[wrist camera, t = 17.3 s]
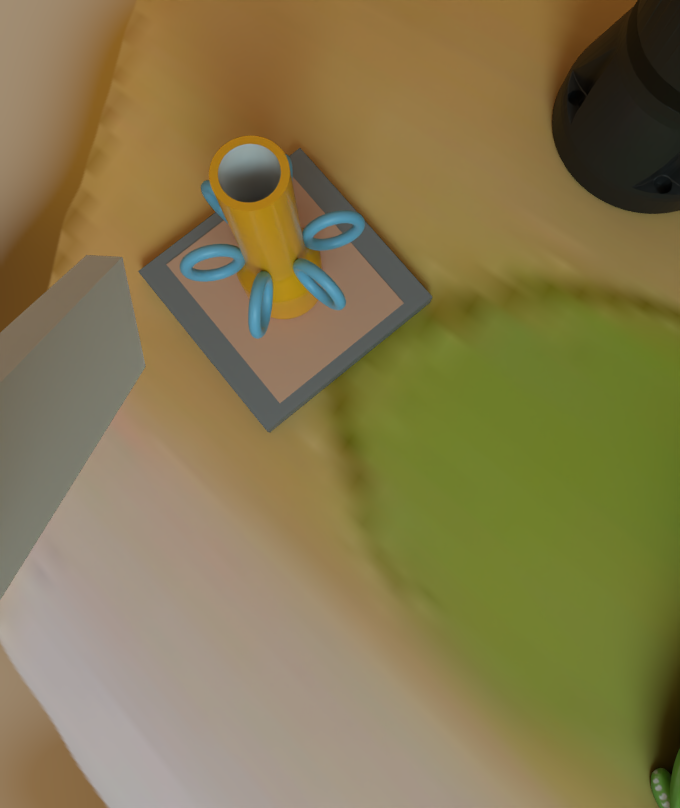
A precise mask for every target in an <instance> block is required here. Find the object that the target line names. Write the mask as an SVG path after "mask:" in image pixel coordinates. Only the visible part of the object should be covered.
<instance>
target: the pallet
mask: <svg viewBox="0 0 680 808" xmlns="http://www.w3.org/2000/svg"><path fill="white" fill-rule="evenodd" d="M289 157H290V159H291V162H292V169H293V188H294V193H295V198H296V203H297V209H298V214H299V219H300V224H301V227H302V228H305V226H306V225H307V224H308V223H310V222H311V221H312V220H314V219H315V218H317V217H319V216H321V215H324V214H326V213H330V212H333V211H339V210H350V211H355V212H357V211H356V210H355V209H354V208H353V207H352V206H351V205H350V204H349V202H348V201H347V200H346V199H345V198H344V197H343V196H342V195H341V193H340V192H339V191H338V190H337V189H336V188H335V187H334V186H333V184H332V183H331V182H330V181H329V180H328V179H327V178H326V177H325V175H324V174H323V173H322V172H321V171H320V170H319V169H318V168H317V166H316V165H315V164H314V163H313V162H312V161H311V160H310V159H309V157H308V156H307V155H306V154H305V153H304V152H303V151H302V150H301V148H299V149H298V150H296V151H295V152H294V153H293V154H291V155H290V156H289ZM352 226H353V224H349V223H341V224H336V225H332V226H329V227H326V228H324V229H322V230H321V231H319V232H318V233H316V234H315V235H314V238H317V239H325V238H331V237H335V236H338V235H340V234H342V233H344V232H346V231H347V230H349V229H350V228H351V227H352ZM212 244H230V245H234V246H237V247H239V246H238V244H237V242H236V240H235V237H234V235H233V233H232V231H231V229H230V227H229V225H228V224H227V223H226V222H225V221H224V220H223V219H222V218H221V217H220V216H219V215H218V214H217V213H216V212H215V213H214V214H213V215H211V216H210V217H209V218H207V219H206V220H205V221H204V222H202V223H201V224H200V225H198V226H197V227H196V228H194V229H193V230H192V231H190V232H189V233H188V234H187V235H185V236H184V237H183V238H181V239H180V240H179V241H177V242H176V243H175V244H173V245H172V246H171V247H170V248H168V249H167V250H166V251H164V252H163V253H162V254H160V255H159V256H158V257H156V258H155V259H154V260H153V261H151V262H150V263H149V264H147V265H146V266H145V267H143V268H142V269H141V270H139V271H138V272H139V273H140V274H141V275H142V277H143V278H144V279H145V280H146V282H147V283H148V284H149V285H150V287H151V288H152V289H153V290H154V291H155V293H156V294H157V295H158V296H159V298H160V299H161V300H162V301H163V303H164V304H165V305H166V306H167V308H168V309H169V310H170V311H171V313H172V314H173V315H174V316H175V318H176V319H177V320H178V321H179V322H180V324H181V325H182V326H183V327H184V329H185V330H186V331H187V332H188V334H189V335H190V336H191V337H192V339H193V340H194V341H195V342H196V344H197V345H198V346H199V347H200V349H201V350H202V351H203V352H204V353H205V355H206V356H207V357H208V358H209V360H210V361H211V362H212V363H213V365H214V366H215V367H216V368H217V370H218V371H219V372H220V373H221V375H222V376H223V377H224V378H225V380H226V381H227V382H228V383H229V384H230V386H231V387H232V388H233V389H234V391H235V392H236V393H237V394H238V396H239V397H240V398H241V399H242V401H243V402H244V403H245V404H246V406H247V407H248V408H249V409H250V411H251V412H252V413H253V414H254V415H255V417H256V418H257V419H258V420H259V422H260V423H261V424H262V425H263V427H264V428H265V429H266V430H267V431H268V432H269V433H270V432H271V431H272V430H273V429H275V428H276V427H277V426H278V425H280V424H281V423H282V422H283V421H284V420H286V419H287V418H288V417H289V416H291V415H292V414H293V413H294V412H296V411H297V410H298V409H299V408H300V407H302V406H303V405H304V404H305V403H307V402H308V401H309V400H310V399H312V398H313V397H314V396H315V395H316V394H318V393H319V392H320V391H321V390H323V389H324V388H325V387H326V386H328V385H329V384H330V383H331V382H332V381H334V380H335V379H336V378H337V377H339V376H340V375H341V374H342V373H344V372H345V371H346V370H347V369H348V368H350V367H351V366H352V365H353V364H355V363H356V362H357V361H358V360H360V359H361V358H362V357H363V356H364V355H366V354H367V353H368V352H369V351H371V350H372V349H373V348H374V347H376V346H377V345H378V344H379V343H380V342H382V341H383V340H384V339H385V338H387V337H388V336H389V335H390V334H392V333H393V332H394V331H395V330H397V329H398V328H399V327H400V326H401V325H403V324H404V323H405V322H406V321H408V320H409V319H410V318H411V317H413V316H414V315H415V314H416V313H417V312H419V311H420V310H421V309H422V308H424V307H425V306H426V305H427V304H429V303H430V301H431V299H432V296H431V295H430V294H429V292H428V291H427V290H426V289H425V288H424V287H423V286H422V285H421V283H420V282H419V281H418V280H417V279H416V278H415V277H414V276H413V274H412V273H411V272H410V271H409V270H408V269H407V268H406V267H405V265H404V264H403V263H402V262H401V261H400V260H399V259H398V258H397V256H396V255H395V254H394V253H393V252H392V251H391V250H390V249H389V247H388V246H387V245H386V244H385V243H384V242H383V241H382V240H381V238H380V237H379V236H378V235H377V234H376V233H375V232H374V231H373V229H372V228H371V227H370V226H369V225H368V224H367V223H366V222H365V228H364V230H363V232H362V233H361V235H360V236H359V237H358V238H356V239H355V240H354V241H352V242H350V243H348V244H346V245H344V246H342V247H339V248H336V249H331V250H324V251H320V254H321V260H322V268H323V271H324V272H325V273H326V274H327V275H329V276H330V277H331V278H332V280H333V281H334V282H335V283H336V284H337V285H338V287H339V288H340V289H341V291H342V292H343V294H344V296H345V299H346V305H345V307H344V308H343V309H342V310H334V309H331V308H329V307H328V306H326V305H324V304H323V303H322V302H320V301H319V300H318V301H317V303H316V304H315V305H314V307H313V308H312V309H310V310H309V311H308V312H307V313H305V314H303V315H301V316H299V317H296V318H292V319H275V318H271V317H270V321H269V325H268V329H267V331H266V333H265V335H264V336H263V337H262V338H259V339H256V338H254V337H253V336H252V335H251V333H250V331H249V325H248V309H249V298H248V297H247V295H246V293H245V291H244V289H243V287H242V286H241V284H240V282H239V279H238V277H237V274H236V273H235V274H234V275H232V276H229V277H227V278H224V279H220V280H216V281H208V282H200V281H194V280H190V279H188V278H186V277H185V276H184V275H183V274H182V273H181V271H180V262H181V260H182V259H183V257H184V256H185V255H187V254H188V253H189V252H191V251H193V250H195V249H197V248H200V247H203V246H206V245H212ZM233 260H234V259H233V258H231V257H213V258H209V259H205V260H203V261H200V262H198V263H197V264H195V265H194V266H193V268H195V269H199V270H210V269H216V268H219V267H222V266H225V265H227V264H229V263H230V262H232V261H233Z"/></svg>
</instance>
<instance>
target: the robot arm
mask: <svg viewBox="0 0 680 808" xmlns="http://www.w3.org/2000/svg"><path fill="white" fill-rule="evenodd" d="M552 125H553V135H554V140H555V144H556V147H557V150H558V153H559V155H560V157H561V159H562V161H563V163H564V165H565V166H566V168H567V169H568V171H569V172H570V173H571V175H572V176H573V177H574V178H575V179H576V181H577V182H578V183H579V184H580V185H581V186H582V187H584V188H585V189H586V190H587V191H588V192H590V193H591V194H593V195H594V196H596V197H597V198H599V199H600V200H602V201H604V202H606V203H608V204H610V205H613V206H615V207H618V208H621V209H624V210H628V211H632V212H638V213H648V214H658V213H669V212H674V211H678V210H680V0H638V1H637V2H636V4H635V6H634V7H632V8H631V9H630V10H629V11H628V12H627V13H626V14H624V15H623V16H622V17H621V18H620V19H619V20H618V21H617V22H615V23H614V24H613V25H612V26H611V27H610V28H609V29H607V30H606V31H605V32H604V33H603V34H602V35H601V36H599V37H598V38H597V39H596V40H595V41H594V42H593V43H592V44H590V45H589V46H588V47H587V48H586V49H585V50H584V51H583V53H582V54H581V55H580V56H579V57H578V59H577V60H576V62H575V63H574V64H573V66H572V68H571V69H570V71H569V73H568V75H567V77H566V79H565V81H564V82H563V84H562V86H561V88H560V90H559V92H558V95H557V98H556V101H555V105H554V109H553V120H552ZM145 367H146V366H145V362H144V357H143V352H142V348H141V343H140V338H139V333H138V329H137V324H136V319H135V315H134V310H133V305H132V301H131V296H130V291H129V286H128V282H127V277H126V272H125V268H124V263H123V258H122V257H112V256H93V255H86V256H85V257H84V258H83V259H82V260H81V261H80V262H78V263H77V264H76V265H75V266H74V267H73V268H72V269H71V270H70V271H68V272H67V273H66V274H65V275H64V276H63V277H62V278H61V279H60V280H58V281H57V282H56V283H55V284H54V285H53V286H52V287H51V288H50V289H48V290H47V291H46V292H45V293H44V294H43V295H42V296H41V297H39V299H37V300H36V301H35V302H34V303H33V304H32V305H31V306H29V307H28V308H27V310H25V311H24V312H23V313H22V314H21V315H20V316H19V317H18V318H16V319H15V320H14V321H13V322H12V323H11V324H9V325H8V326H7V327H6V328H5V329H4V330H3V331H2V332H1V333H0V599H1V598H2V596H3V595H4V593H5V591H6V590H7V588H8V587H9V585H10V583H11V582H12V580H13V579H14V577H15V575H16V574H17V572H18V570H19V569H20V567H21V566H22V564H23V562H24V561H25V559H26V558H27V556H28V554H29V553H30V551H31V550H32V548H33V546H34V545H35V543H36V542H37V540H38V538H39V537H40V535H41V534H42V532H43V530H44V529H45V527H46V526H47V524H48V522H49V521H50V519H51V518H52V516H53V514H54V513H55V511H56V509H57V508H58V506H59V505H60V503H61V501H62V500H63V498H64V497H65V495H66V493H67V492H68V490H69V489H70V487H71V485H72V484H73V482H74V481H75V479H76V477H77V476H78V474H79V473H80V471H81V469H82V468H83V466H84V465H85V463H86V461H87V460H88V458H89V457H90V455H91V453H92V452H93V450H94V448H95V447H96V445H97V444H98V442H99V440H100V439H101V437H102V436H103V434H104V432H105V431H106V429H107V428H108V426H109V424H110V423H111V421H112V420H113V418H114V416H115V415H116V413H117V412H118V410H119V408H120V407H121V405H122V404H123V402H124V400H125V399H126V397H127V396H128V394H129V392H130V391H131V389H132V387H133V386H134V384H135V383H136V381H137V379H138V378H139V376H140V375H141V373H142V371H143V370H144V368H145Z"/></svg>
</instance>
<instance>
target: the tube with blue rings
mask: <svg viewBox="0 0 680 808" xmlns="http://www.w3.org/2000/svg"><path fill="white" fill-rule="evenodd" d="M201 191H202V194H203V196H204V197H205V199H206V201H207V202H208V203H209V205H210V206H211V207H212V208H213V210H214V211H215V212H216V213H217V214H218V215H219V216H220V217H221V218H222V219H223V220H224V221H225V222H226V223H227V224H228V225H229V227H230V229H231V231H232V233H233V235H234V237H235V240H236V242H237V244H238V246H239V247H237V246H234V245H230V244H212V245H206V246H203V247H200V248H197V249H195V250H193V251H191V252H189V253H188V254H187V255H185V256H184V257H183V259H182V260H181V262H180V271H181V273H182V274H183V275H184V276H185V277H186V278H188V279H190V280H194V281H200V282H208V281H216V280H220V279H224V278H227V277H229V276H232V275H234V274H235V273H236V274H237V277H238V279H239V282H240V284H241V286H242V287H243V289H244V291H245V293H246V295H247V297H248V298H249V309H248V325H249V331H250V333H251V335H252V336H253V337H254V338H256V339H259V338H262V337H263V336H264V335H265V333H266V331H267V329H268V325H269V321H270V317H271V318H275V319H292V318H296V317H299V316H301V315H303V314H305V313H307V312H308V311H309V310H310V309H312V308H313V307H314V305H315V304H316V303H317V301H318V300H319V301H320V302H322V303H323V304H324V305H326V306H328V307H329V308H331V309H334V310H342V309H343V308H344V307H345V305H346V299H345V296H344V294H343V292H342V291H341V289H340V288H339V287H338V285H337V284H336V283H335V282H334V281H333V280H332V278H331V277H330V276H329V275H327V274H326V273H325V272H324V271H323V268H322V260H321V254H320V251H324V250H331V249H336V248H339V247H342V246H344V245H346V244H348V243H350V242H352V241H354V240H355V239H356V238H358V237H359V236H360V235H361V233H362V232H363V230H364V228H365V220H364V218H363V217H362V215H361V214H359V213H357V212H355V211H350V210H339V211H333V212H330V213H326V214H324V215H321V216H319V217H317V218H315V219H314V220H312V221H311V222H310V223H308V224H307V225H306V226H305V228H302V227H301V224H300V219H299V214H298V209H297V203H296V198H295V193H294V188H293V169H292V162H291V159H290V157H289V156H288V155H287V154H285V153H284V152H283V151H282V149H281V148H280V147H279V146H278V145H277V144H275V143H274V142H272V141H271V140H269V139H266V138H263V137H260V136H242V137H238V138H235V139H233V140H231V141H229V142H227V143H226V144H224V145H223V146H222V147H221V148H220V149H219V150H218V151H217V152H216V154H215V155H214V157H213V159H212V161H211V164H210V168H209V180H206V181H204V182H203V183H202V185H201ZM341 223H349V224H353V226H352V227H351V228H350V229H349V230H347V231H346V232H344V233H342V234H340V235H338V236H335V237H331V238H325V239H317V238H314V235H315V234H316V233H318V232H319V231H321V230H322V229H324V228H326V227H329V226H332V225H336V224H341ZM213 257H231V258H233V259H234V260H233V261H232V262H230V263H229V264H227V265H225V266H222V267H219V268H216V269H210V270H199V269H195V268H193V266H194V265H195V264H197V263H198V262H200V261H203V260H205V259H209V258H213Z"/></svg>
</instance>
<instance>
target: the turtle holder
mask: <svg viewBox="0 0 680 808" xmlns="http://www.w3.org/2000/svg"><path fill="white" fill-rule="evenodd" d="M651 788H652V792H653V795H654V797H655V800H656V802H657V804H658V806H659V807H660V808H680V748H679V751H678V753H677V756H676V759H675V762H674V766H673V771H672V776H671V775H670V773H669V772H668V771H667V770H666V769H664V768H658V769H656V770H655V771H654V772H652V775H651Z"/></svg>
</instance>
